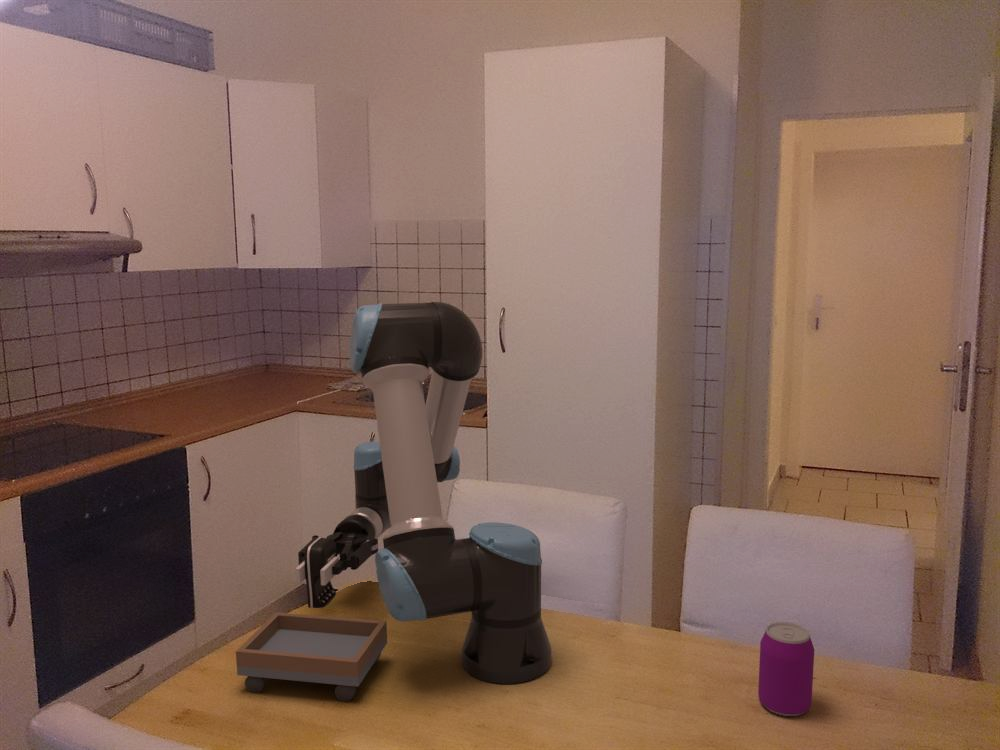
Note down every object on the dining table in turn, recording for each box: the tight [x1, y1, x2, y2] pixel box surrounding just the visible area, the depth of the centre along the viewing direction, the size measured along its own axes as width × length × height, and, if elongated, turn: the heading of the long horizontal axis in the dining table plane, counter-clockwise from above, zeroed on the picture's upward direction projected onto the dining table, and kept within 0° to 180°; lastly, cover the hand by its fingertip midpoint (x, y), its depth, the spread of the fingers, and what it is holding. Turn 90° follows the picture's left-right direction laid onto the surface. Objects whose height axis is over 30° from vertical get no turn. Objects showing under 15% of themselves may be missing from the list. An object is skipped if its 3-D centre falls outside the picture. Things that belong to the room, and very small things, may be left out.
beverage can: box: [757, 621, 815, 717], centre depth 126 cm, size 8×8×12 cm
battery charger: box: [304, 536, 338, 609], centre depth 149 cm, size 7×4×11 cm, turn 169°
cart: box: [235, 611, 388, 703], centre depth 136 cm, size 20×14×7 cm
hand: (310, 576), depth 144 cm, fingers closed on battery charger, 4 cm apart
